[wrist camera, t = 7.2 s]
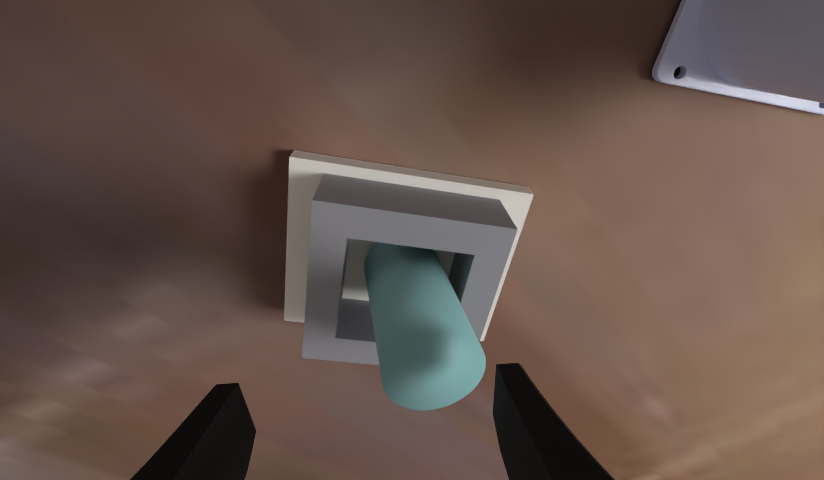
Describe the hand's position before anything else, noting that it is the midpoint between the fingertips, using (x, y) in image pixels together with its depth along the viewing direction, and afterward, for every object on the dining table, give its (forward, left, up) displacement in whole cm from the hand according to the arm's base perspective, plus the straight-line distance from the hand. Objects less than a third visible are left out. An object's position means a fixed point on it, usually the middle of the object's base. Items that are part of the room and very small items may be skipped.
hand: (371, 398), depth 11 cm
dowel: (-1, +1, -9) cm, 9 cm away
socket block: (-1, +1, -10) cm, 10 cm away
